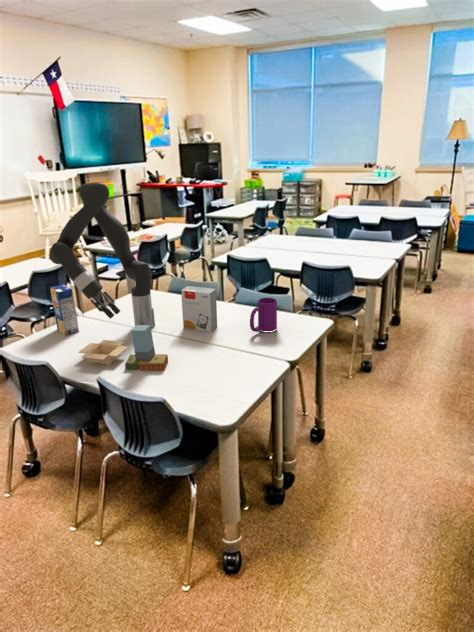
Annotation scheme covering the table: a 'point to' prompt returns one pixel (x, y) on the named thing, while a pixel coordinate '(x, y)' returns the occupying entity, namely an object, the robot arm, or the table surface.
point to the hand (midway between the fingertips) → (115, 315)
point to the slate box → (143, 342)
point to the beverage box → (64, 309)
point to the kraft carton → (103, 351)
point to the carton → (147, 363)
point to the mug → (265, 315)
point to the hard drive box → (199, 308)
